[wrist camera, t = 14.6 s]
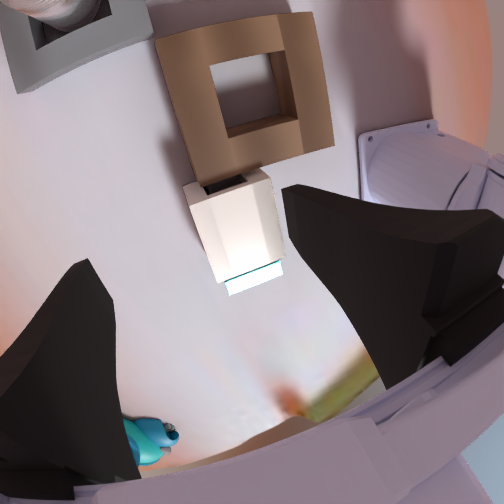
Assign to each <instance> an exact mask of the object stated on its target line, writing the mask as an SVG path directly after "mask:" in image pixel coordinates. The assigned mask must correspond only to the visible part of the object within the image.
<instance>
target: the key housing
mask: <svg viewBox="0 0 504 504" xmlns="http://www.w3.org/2000/svg"><path fill="white" fill-rule="evenodd" d="M238 177H239V179H240V180H241V182H242V184H239V185H236V186H233V187H230V188H227V189H225V190H222V191H219V192H216V193H213V194H210V195H208V196H207V194H206V192H205V190H204V188H203V187H200V185H199V183H198V181H196V182H193V183H190V184H188V185H185V186H182V187H183V190H184V193H185V196H186V199H187V202H188V205H189V208H190V211H191V213H192V216H193V219H194V222H195V224H196V227H197V230H198V233H199V235H200V238H201V241H202V243H203V246H204V249H205V251H206V254H207V257H208V259H209V262H210V265H211V267H212V270H213V272H214V275H215V278H216V280H217V283H220V282H222V281H225V280H228V279H230V278H233V277H236V276H238V275H241V274H243V273H246V272H249V271H251V270H254V269H256V268H259V267H261V266H264V265H267V264H269V263H272V262H274V261H277V260H279V259H282V258H285V257H286V254H285V248H284V243H283V238H282V232H281V227H280V222H279V217H278V212H277V207H276V202H275V197H274V192H273V187H272V182H271V178H270V177H269V176H268V175H267V174H266V173H265V172H263V171H262V170H261V169H260V168H257V169H254V170H250V171H247V172H244V173H241V174H238Z"/></svg>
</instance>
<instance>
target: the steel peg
mask: <svg viewBox="0 0 504 504" xmlns="http://www.w3.org/2000/svg"><path fill="white" fill-rule="evenodd" d="M0 1H1V2H2V3H3V4H4V5H6V6H8V7H10V8H13V9H15V10H17V11H20V12H22V13H24V14H26V15H29V16H31V17H33V18H35V19H37V20H40V21H42V22H44V23H46V24H48V25H50V26H52V27H54V28H56V29H58V30H61V31H64V32H71V31H75V30H77V29H79V28H82V27H84V26H86V25H87V24H89V23H90V22H91V21H92V20H93V19H94V17H95V16H96V14H97V13H98V10H99V7H100V0H0Z"/></svg>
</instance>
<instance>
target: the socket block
mask: <svg viewBox="0 0 504 504" xmlns="http://www.w3.org/2000/svg"><path fill="white" fill-rule="evenodd" d="M155 47H156V51H157V54H158V58H159V61H160V64H161V68H162V71H163V75H164V78H165V82H166V85H167V88H168V92H169V95H170V98H171V102H172V105H173V108H174V112H175V115H176V118H177V121H178V125H179V128H180V131H181V134H182V138H183V141H184V144H185V147H186V150H187V153H188V157H189V160H190V163H191V166H192V169H193V172H194V175H195V177H196V179H197V181H198V183H199V185H200V187H203V186H206V185H209V184H212V183H215V182H218V181H221V180H224V179H226V178H229V177H232V176H235V175H238V174H241V173H244V172H247V171H250V170H254V169H257V168H260V167H263V166H266V165H269V164H273V163H276V162H279V161H282V160H286V159H289V158H292V157H296V156H299V155H303V154H306V153H310V152H313V151H317V150H320V149H324V148H328V147H331V146H335V143H334V135H333V127H332V119H331V112H330V105H329V98H328V92H327V85H326V79H325V73H324V68H323V62H322V56H321V51H320V46H319V41H318V36H317V31H316V26H315V22H314V17H313V13H312V12H296V13H284V14H275V15H266V16H258V17H252V18H245V19H239V20H233V21H228V22H223V23H218V24H213V25H208V26H204V27H200V28H196V29H192V30H188V31H184V32H180V33H176V34H173V35H169V36H166V37H163V38H159V39H156V41H155ZM264 53H269V56H270V60H271V65H272V70H273V74H274V79H275V84H276V88H277V93H278V98H279V103H280V108H281V113H282V114H279V115H275V116H271V117H267V118H263V119H259V120H256V121H252V122H248V123H245V124H241V125H238V126H234V127H231V128H228V129H226V128H225V124H224V120H223V117H222V113H221V109H220V105H219V101H218V98H217V94H216V90H215V86H214V82H213V79H212V75H211V71H210V67H209V65H213V64H217V63H221V62H226V61H230V60H234V59H239V58H243V57H248V56H253V55H259V54H264Z"/></svg>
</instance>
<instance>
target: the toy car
mask: <svg viewBox="0 0 504 504" xmlns="http://www.w3.org/2000/svg"><path fill="white" fill-rule="evenodd" d="M123 421H124V426H125V430H126V434H127V437H128V440H129V444H130V447H131V450H132V453H133V457H134V459H135V462H136V465H137V467H138V466H139V465H140V466H148V465H152V464H154V463H156V462H157V461H158V460H159V459H160V457H161V456H163V455H164V454H166V455H169V454H170V453H171V448H170V446H173V445H174V444H176V443H177V441H178V439H179V434H178V433H177V431H174V432H172V433H167V432H168V431H170V430H174V428H175V427H174V425H170V424H169V423H168V424H166V425H164V426H163V424H162V421H161V420H157V419H137V420H135V421H133V422H132V421H129V420H127V419H124V418H123Z"/></svg>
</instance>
